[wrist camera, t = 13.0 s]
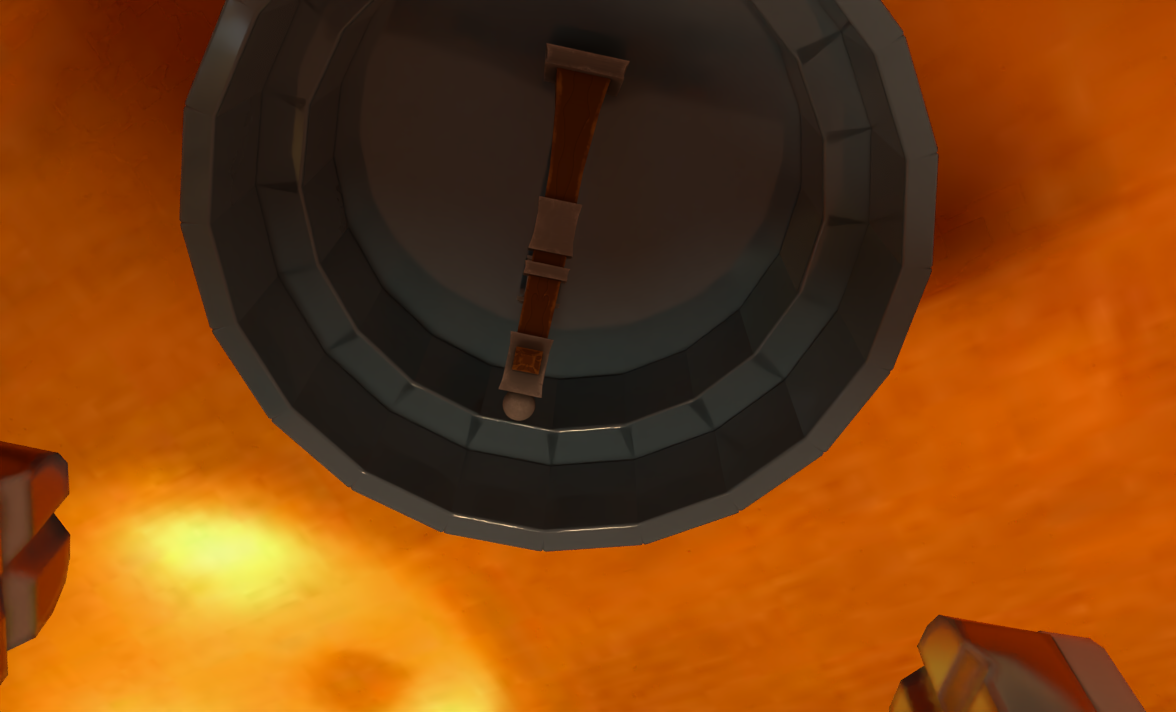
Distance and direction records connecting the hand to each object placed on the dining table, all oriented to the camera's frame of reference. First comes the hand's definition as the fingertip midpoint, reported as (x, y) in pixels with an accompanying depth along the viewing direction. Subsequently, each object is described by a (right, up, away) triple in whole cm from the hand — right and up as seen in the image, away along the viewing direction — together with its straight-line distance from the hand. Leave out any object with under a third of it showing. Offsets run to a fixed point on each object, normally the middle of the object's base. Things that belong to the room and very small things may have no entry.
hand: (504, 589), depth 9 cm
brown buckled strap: (0, +6, +15) cm, 16 cm away
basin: (0, +7, +15) cm, 16 cm away
